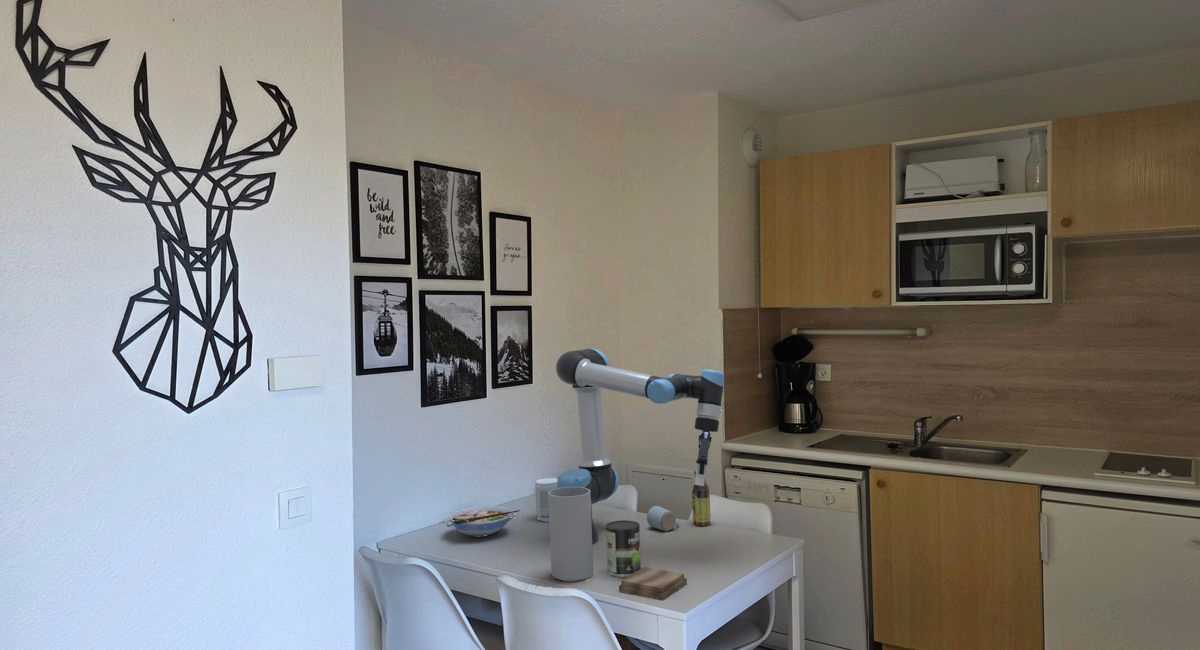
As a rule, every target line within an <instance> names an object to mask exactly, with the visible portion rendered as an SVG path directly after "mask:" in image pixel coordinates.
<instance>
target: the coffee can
mask: <svg viewBox="0 0 1200 650" xmlns="http://www.w3.org/2000/svg"><path fill="white" fill-rule="evenodd" d="M640 525H641V524H640V523H639V522H638V521H634V520H629V519H627V520H625V519H624V520H614V521H611V522H607V523H606V524H605V535H606V538H605V539H606V560H607V561H606V563H607V568H606V569H607V571H606V572H607V574H609V575H610V576H614V577H620V578H626V577H628V576H630V575H631V574H633V573H635V572H636V571H638V570H640V569H641V568H642V563H641V562H642V561H641V540H640V539H641V536H640V535H641V533H640V531H641V530H640Z"/></svg>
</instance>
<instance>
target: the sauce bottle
mask: <svg viewBox="0 0 1200 650" xmlns="http://www.w3.org/2000/svg"><path fill="white" fill-rule="evenodd" d="M693 474H694V477H695V476H696V469H694V473H693ZM691 495H692V496H691V499H692V500H691V504H692V520H693V525H695V526H696V527H697V526H698V527H707V526H709V525H710V524H711V500H710V499H711V498H710V497H711V496H710V488H709V486H708V484H707V482H706V479H705V482H704V486H700V485H695V483H694V485H693V487H692V490H691Z"/></svg>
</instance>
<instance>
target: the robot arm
mask: <svg viewBox="0 0 1200 650" xmlns="http://www.w3.org/2000/svg"><path fill="white" fill-rule="evenodd" d="M555 372H556V375H557V377H558V378H559V379H560V380H561V382H563V383H565V384H567V385H572V389H573V390H574V391H575V392H576V395H577V406H578V418H579V421H578V422H579V430H580V431H579V432H580V433H579V434H580V444H581V456H582V457H581V461H580V462H579V463H578V468H573V469H568V470H566V471H563V472H561V473H560V474H559V475H557V477H556V479H557V488H563V487H583V488H587V489H589V490H590V497H591V524H592V545H594V544H595V543H597V542H598V541H599V533H598V530H597V527H596V525H595V521H594V519H593V509H592V508H593V505H594V504H597V503H598V502H602V501H605V500H607V499H608V498H611V497H612V496H613V495H614V494H615V493H616V491H617V490H618V487H619V483H620V481H619V476H618V473H617V471H615V468H614V467H613V466H612V461H611V460H610V459H609V458H607V449H606V448H607V447H606V446H607V445H606V436H605V435H606V434H605V423H604V422H605V421H604V410H603V399H602V397H603V396H602V390H603V389H604V390H607V391H608V390H610V391H612V392H613V391H614V392H617V393H622V394H627V395H631V396H636V397H640V398H645V399H648V400H650V401H651V402H653V403H654V404H657V405H658V404H659V405H660V404H667V403H669V402H673V401H677V400H682V399H696V400H697V406H696V413H695V415H696V416H697V417H695V420H694V421H695V422H694V429H695V430H696V431H702V432H701V433H700V435H698V448H699V449H698V456H697V459H696V461H695V463H696V469H695V470H696V476H695V475H694V484H695V485H700V486H704V482H705V480H706V474H707V466H708V457H709V455H708V454H709V449H710V447H711V443H712V437H711V432H712V433H718V432H719V425H720V421H719V419H720V417H721V414H723V409H721V407H722V400H723V395H724V394H723V393H724V388H725V374H724V372H722V371H720V370H714V369H703V370H701V372H700V373H701V374H700V375H691V374H681V373H670V374H668V375H667V377H660V376H656V375H653V374H647V373H642V372H639V371H638V372H637V371H633V370H630V369H629V370H627V369H623V368H618V367H613V366H610V363H609V359H608V358H607V356H606V354H604V353H603V352H602V351H601V350H599V349H596V348H584V349H576V350H570V351H566V352H564V353H562V354H561V355H560V356H559V358H558V359H557V362H556V364H555ZM705 483H706V482H705Z"/></svg>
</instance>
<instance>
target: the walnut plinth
mask: <svg viewBox="0 0 1200 650" xmlns="http://www.w3.org/2000/svg"><path fill="white" fill-rule="evenodd" d="M687 579H688V578H687V577H685V573H683V572H682V573H681V572H677V571H671V570H666V569H660V568H655V567H654V568H653V567H648V566H643V567H641V569H640V570H638V571H636V572H635V573H633V574H631V575H630V576H628V577H623V579H621V581H620V584H619V585H618V592H620V591H622V592H621V593H625V592H626V593H625V594H630V593H631V595H635V594H636V596H640V595H642V596H641V597H645V596H647V597H646V598H650V597H652V598H651V599H655V598H658V599H657V600H660V599H662V600H661V601H664V600H665V599H667V598H668V597H670V596H671V595H673V594H674V593H676V592H678V589H679V588H680V589H682V588H683V587H685V586H686V585H687V584H688V582H687V581H688V580H687ZM685 584H686V585H685ZM682 586H683V587H682ZM680 589H679V590H680ZM675 591H676V592H675ZM673 592H674V593H673ZM672 593H673V594H672ZM669 595H670V596H669ZM666 597H667V598H666ZM663 599H664V600H663Z"/></svg>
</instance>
